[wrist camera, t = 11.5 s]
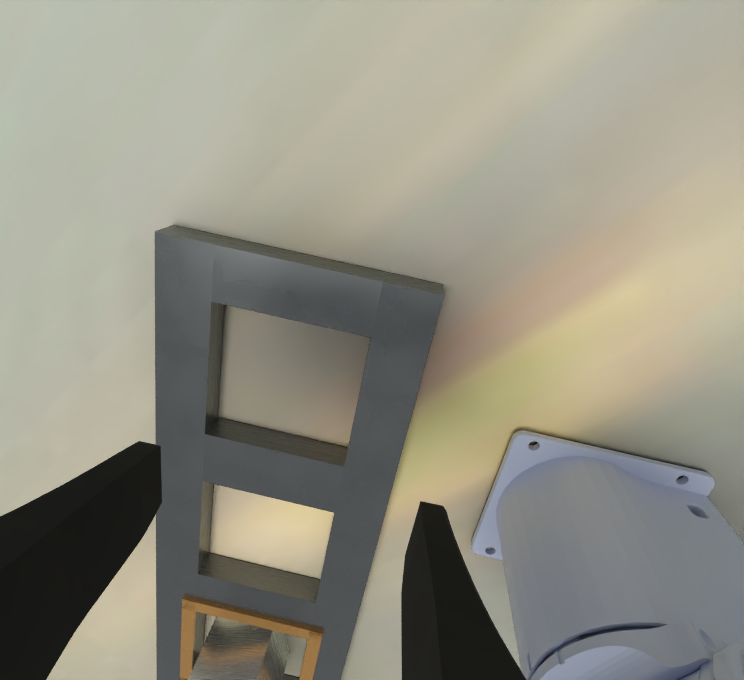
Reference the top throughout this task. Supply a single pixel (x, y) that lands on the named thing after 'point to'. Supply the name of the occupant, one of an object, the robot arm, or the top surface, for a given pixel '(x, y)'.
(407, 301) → the rail
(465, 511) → the top surface
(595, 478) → the robot arm
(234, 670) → the block
